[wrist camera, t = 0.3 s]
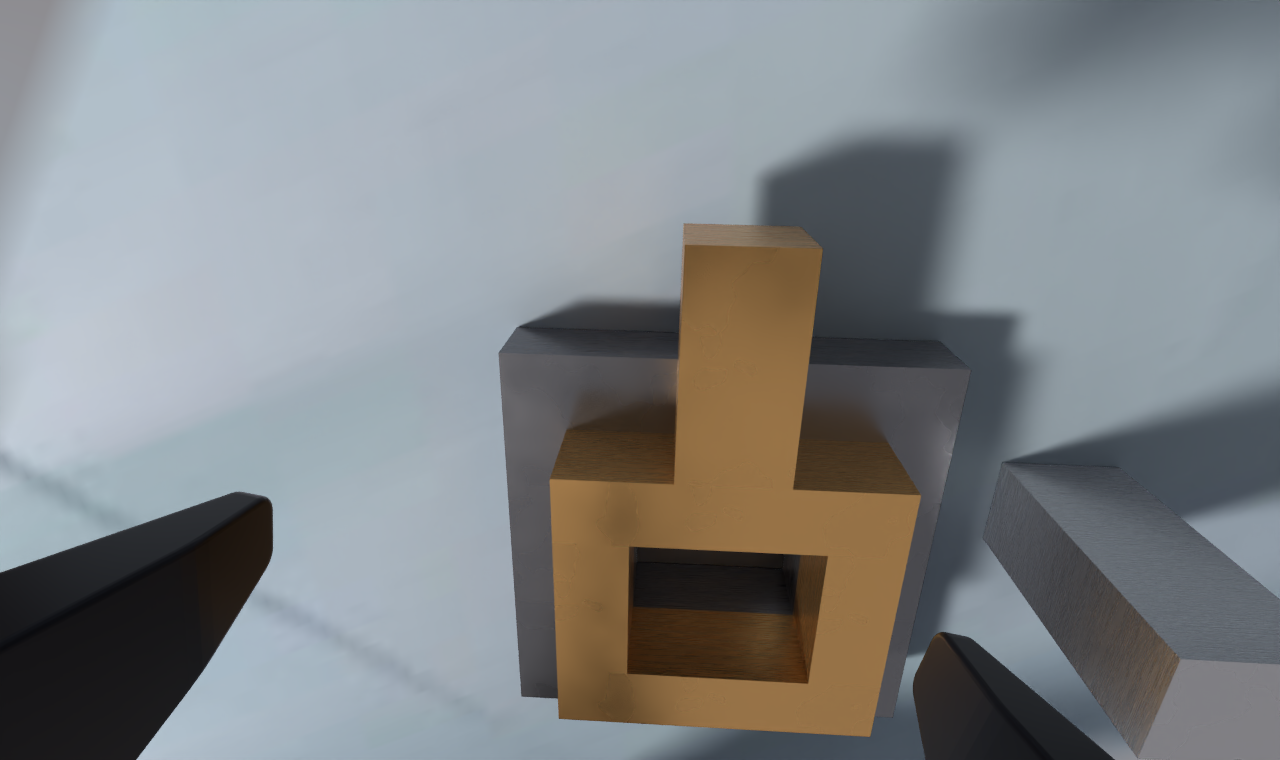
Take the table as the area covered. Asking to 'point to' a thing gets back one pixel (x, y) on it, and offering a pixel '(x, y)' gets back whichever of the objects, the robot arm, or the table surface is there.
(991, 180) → the table surface
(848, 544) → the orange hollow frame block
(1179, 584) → the grey rectangular block
